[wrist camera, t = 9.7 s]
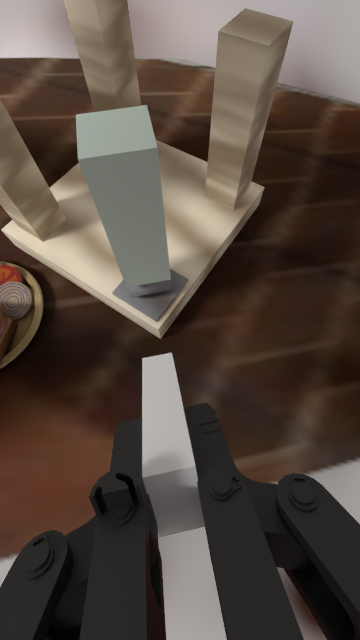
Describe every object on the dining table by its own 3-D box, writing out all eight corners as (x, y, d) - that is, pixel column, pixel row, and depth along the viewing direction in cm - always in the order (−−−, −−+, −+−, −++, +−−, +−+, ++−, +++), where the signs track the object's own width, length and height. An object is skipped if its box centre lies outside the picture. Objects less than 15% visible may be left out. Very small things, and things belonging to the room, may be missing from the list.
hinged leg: (172, 298, 24) (157, 147, 12) (133, 306, 24) (77, 159, 12) (166, 267, 25) (146, 104, 13) (129, 273, 25) (75, 114, 13)
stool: (160, 338, 25) (129, 218, 11) (15, 245, 30) (-139, 75, 16) (258, 205, 32) (319, 18, 17) (126, 144, 36) (87, -43, 22)
